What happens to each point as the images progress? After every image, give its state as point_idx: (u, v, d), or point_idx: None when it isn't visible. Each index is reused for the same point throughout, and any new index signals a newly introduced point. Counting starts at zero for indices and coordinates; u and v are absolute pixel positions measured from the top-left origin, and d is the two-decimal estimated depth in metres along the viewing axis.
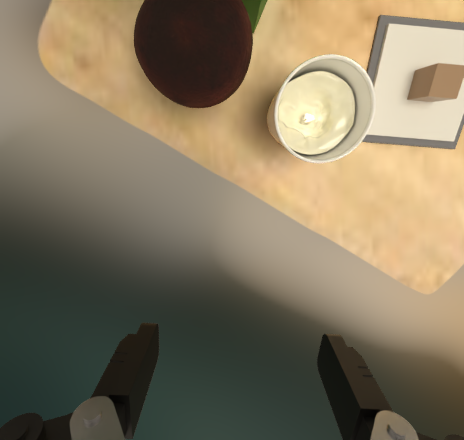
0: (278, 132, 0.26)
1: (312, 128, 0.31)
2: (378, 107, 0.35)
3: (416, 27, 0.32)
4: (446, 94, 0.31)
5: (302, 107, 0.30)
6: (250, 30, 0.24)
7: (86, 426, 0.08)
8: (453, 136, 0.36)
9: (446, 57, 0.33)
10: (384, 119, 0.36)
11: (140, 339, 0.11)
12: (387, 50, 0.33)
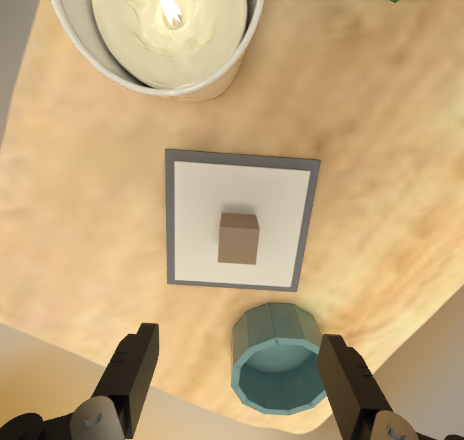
0: None
1: (156, 30, 0.16)
2: (210, 176, 0.25)
3: (302, 206, 0.26)
4: (222, 248, 0.23)
5: (190, 0, 0.16)
6: None
7: (86, 426, 0.08)
8: (180, 277, 0.29)
9: (268, 247, 0.28)
10: (196, 188, 0.25)
11: (140, 339, 0.11)
12: (280, 175, 0.25)
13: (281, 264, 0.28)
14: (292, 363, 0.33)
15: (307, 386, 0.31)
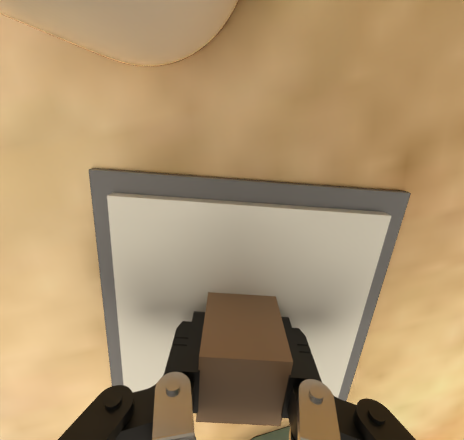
0: None
1: None
2: (185, 225, 0.12)
3: (369, 280, 0.13)
4: (206, 397, 0.10)
5: None
6: None
7: (171, 396, 0.09)
8: None
9: None
10: (155, 247, 0.12)
11: (196, 325, 0.12)
12: (327, 224, 0.12)
13: None
14: None
15: None
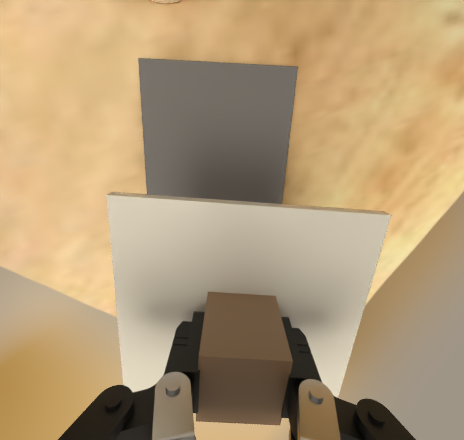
0: None
1: None
2: (184, 225, 0.12)
3: (369, 280, 0.13)
4: (205, 397, 0.10)
5: None
6: None
7: (171, 396, 0.09)
8: None
9: None
10: (154, 246, 0.12)
11: (196, 325, 0.12)
12: (327, 224, 0.12)
13: None
14: None
15: None
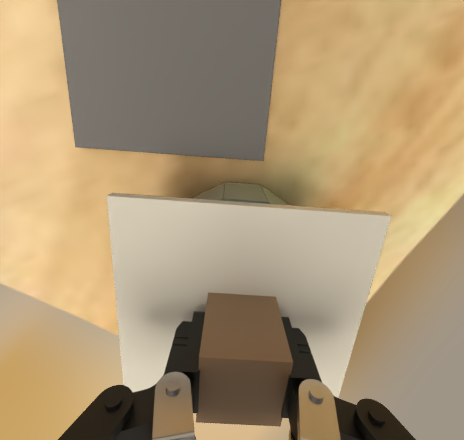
0: None
1: None
2: (185, 226, 0.12)
3: (369, 281, 0.13)
4: (206, 398, 0.10)
5: None
6: None
7: (171, 396, 0.09)
8: None
9: None
10: (155, 247, 0.12)
11: (196, 325, 0.12)
12: (328, 225, 0.12)
13: None
14: None
15: None
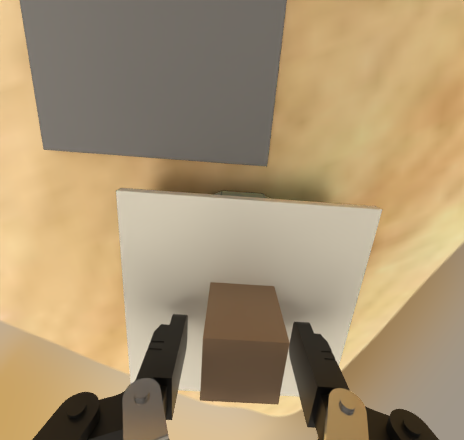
0: None
1: None
2: (188, 219, 0.13)
3: (362, 271, 0.14)
4: (209, 377, 0.11)
5: None
6: None
7: (138, 404, 0.08)
8: None
9: None
10: (160, 239, 0.13)
11: (174, 328, 0.12)
12: (322, 218, 0.13)
13: None
14: None
15: None
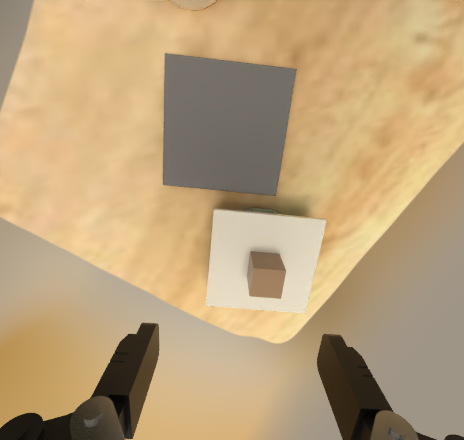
0: None
1: None
2: (243, 222, 0.30)
3: (319, 247, 0.31)
4: (254, 285, 0.28)
5: None
6: None
7: (86, 426, 0.08)
8: (211, 304, 0.33)
9: (288, 280, 0.32)
10: (230, 231, 0.30)
11: (140, 339, 0.11)
12: (301, 223, 0.30)
13: (298, 294, 0.33)
14: None
15: None
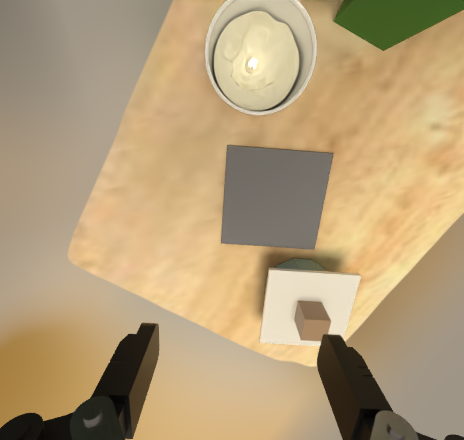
0: None
1: (241, 73, 0.28)
2: (293, 278, 0.37)
3: (354, 296, 0.38)
4: (305, 332, 0.35)
5: (263, 57, 0.27)
6: None
7: (86, 426, 0.08)
8: (263, 341, 0.41)
9: None
10: (282, 285, 0.37)
11: (140, 339, 0.11)
12: (340, 278, 0.37)
13: (336, 332, 0.40)
14: None
15: None
